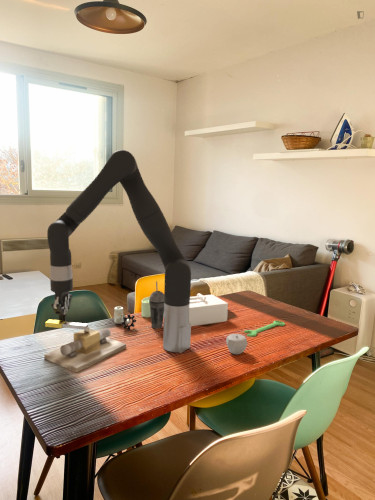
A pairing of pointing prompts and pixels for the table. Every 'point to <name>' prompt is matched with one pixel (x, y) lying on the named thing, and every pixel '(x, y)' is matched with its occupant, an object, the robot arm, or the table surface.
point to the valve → (123, 318)
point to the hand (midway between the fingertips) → (63, 323)
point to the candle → (146, 307)
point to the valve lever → (67, 325)
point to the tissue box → (207, 310)
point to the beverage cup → (156, 308)
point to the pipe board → (85, 358)
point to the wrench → (263, 328)
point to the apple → (236, 343)
